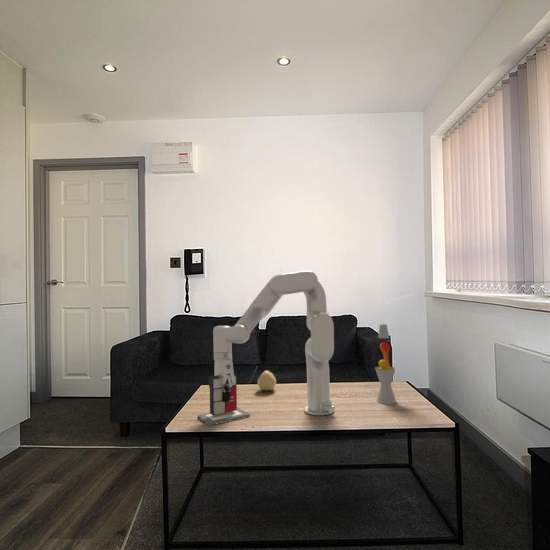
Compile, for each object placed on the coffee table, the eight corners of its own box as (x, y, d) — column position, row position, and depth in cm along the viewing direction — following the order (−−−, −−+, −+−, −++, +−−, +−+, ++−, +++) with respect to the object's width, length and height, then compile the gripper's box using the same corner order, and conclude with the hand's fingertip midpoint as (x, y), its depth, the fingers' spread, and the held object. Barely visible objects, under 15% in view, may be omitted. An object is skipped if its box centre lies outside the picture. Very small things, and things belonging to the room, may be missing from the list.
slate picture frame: (250, 416, 152) (249, 413, 152) (209, 426, 142) (209, 423, 142) (236, 409, 162) (236, 406, 162) (197, 417, 152) (197, 415, 153)
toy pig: (278, 387, 197) (277, 367, 198) (275, 393, 185) (274, 372, 186) (260, 387, 199) (259, 367, 199) (256, 393, 187) (255, 372, 187)
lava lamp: (385, 397, 174) (382, 323, 176) (401, 401, 167) (397, 324, 168) (371, 400, 169) (368, 324, 171) (387, 405, 162) (384, 325, 163)
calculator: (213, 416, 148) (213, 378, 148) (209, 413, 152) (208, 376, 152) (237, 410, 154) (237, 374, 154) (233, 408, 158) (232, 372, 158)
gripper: (240, 357, 149) (241, 403, 148) (222, 352, 163) (223, 394, 162) (223, 359, 145) (224, 406, 144) (206, 354, 158) (207, 397, 158)
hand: (224, 399), depth 153 cm, fingers closed on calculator, 3 cm apart
